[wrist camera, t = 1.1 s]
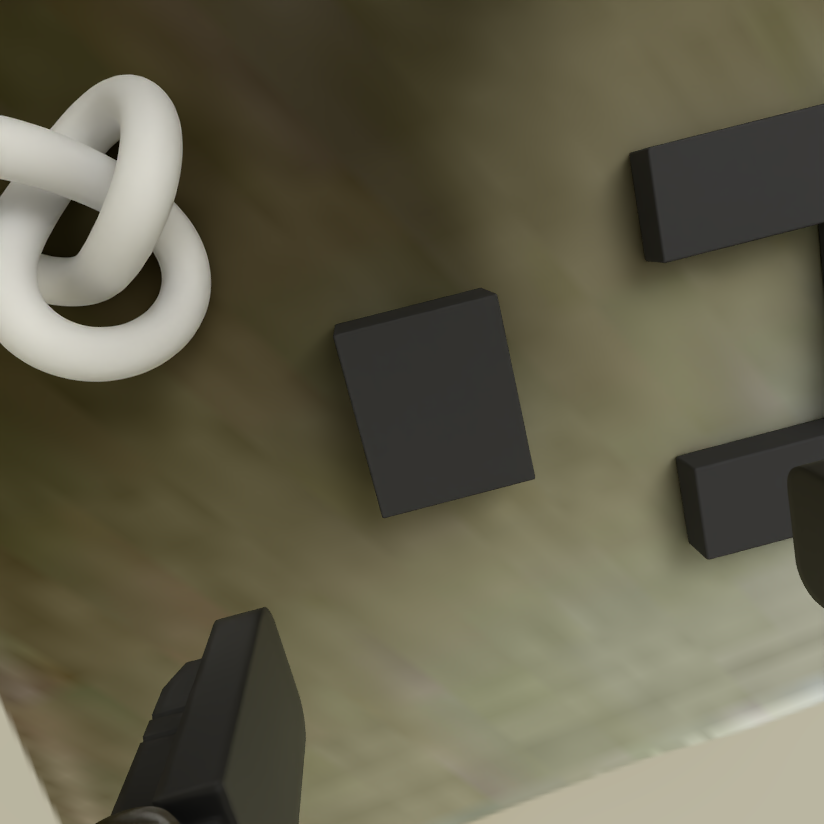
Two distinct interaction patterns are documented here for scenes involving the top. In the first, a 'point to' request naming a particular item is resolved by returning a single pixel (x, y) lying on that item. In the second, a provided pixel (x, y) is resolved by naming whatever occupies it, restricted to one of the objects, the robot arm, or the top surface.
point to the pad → (435, 401)
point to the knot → (98, 233)
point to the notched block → (719, 228)
